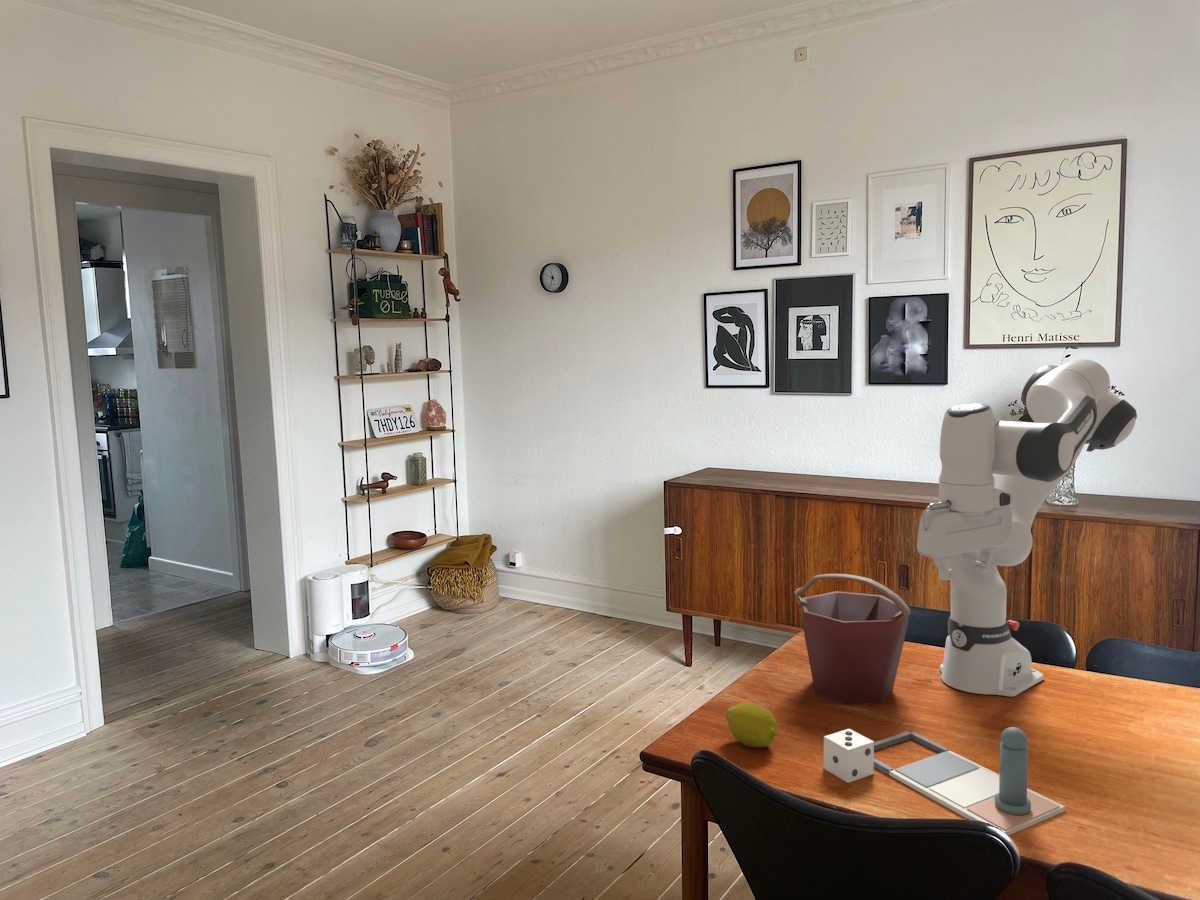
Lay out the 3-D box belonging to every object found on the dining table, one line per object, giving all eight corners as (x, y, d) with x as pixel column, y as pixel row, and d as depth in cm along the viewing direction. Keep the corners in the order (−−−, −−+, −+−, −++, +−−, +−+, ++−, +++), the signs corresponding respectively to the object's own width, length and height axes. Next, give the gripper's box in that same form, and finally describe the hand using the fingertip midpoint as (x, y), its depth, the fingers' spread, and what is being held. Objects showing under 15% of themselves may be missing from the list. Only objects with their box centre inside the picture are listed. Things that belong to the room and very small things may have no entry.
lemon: (787, 749, 162) (787, 708, 161) (756, 761, 158) (756, 719, 157) (748, 728, 172) (747, 690, 171) (717, 739, 167) (717, 699, 166)
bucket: (774, 685, 192) (774, 575, 189) (834, 660, 206) (834, 557, 203) (872, 720, 174) (874, 599, 170) (930, 690, 188) (932, 577, 184)
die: (848, 760, 158) (849, 727, 157) (874, 774, 152) (874, 741, 152) (823, 768, 155) (823, 735, 154) (847, 783, 150) (848, 749, 149)
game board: (910, 735, 167) (910, 730, 167) (1064, 811, 139) (1064, 805, 139) (852, 754, 160) (852, 749, 160) (1002, 838, 132) (1002, 832, 132)
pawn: (1009, 795, 142) (1010, 718, 141) (1038, 810, 138) (1040, 730, 136) (987, 804, 140) (989, 725, 138) (1016, 819, 135) (1018, 738, 134)
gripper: (938, 507, 143) (936, 588, 145) (1020, 494, 153) (1017, 571, 154) (908, 501, 149) (907, 580, 151) (989, 489, 158) (987, 563, 160)
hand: (963, 575), depth 153 cm, fingers open, 8 cm apart
